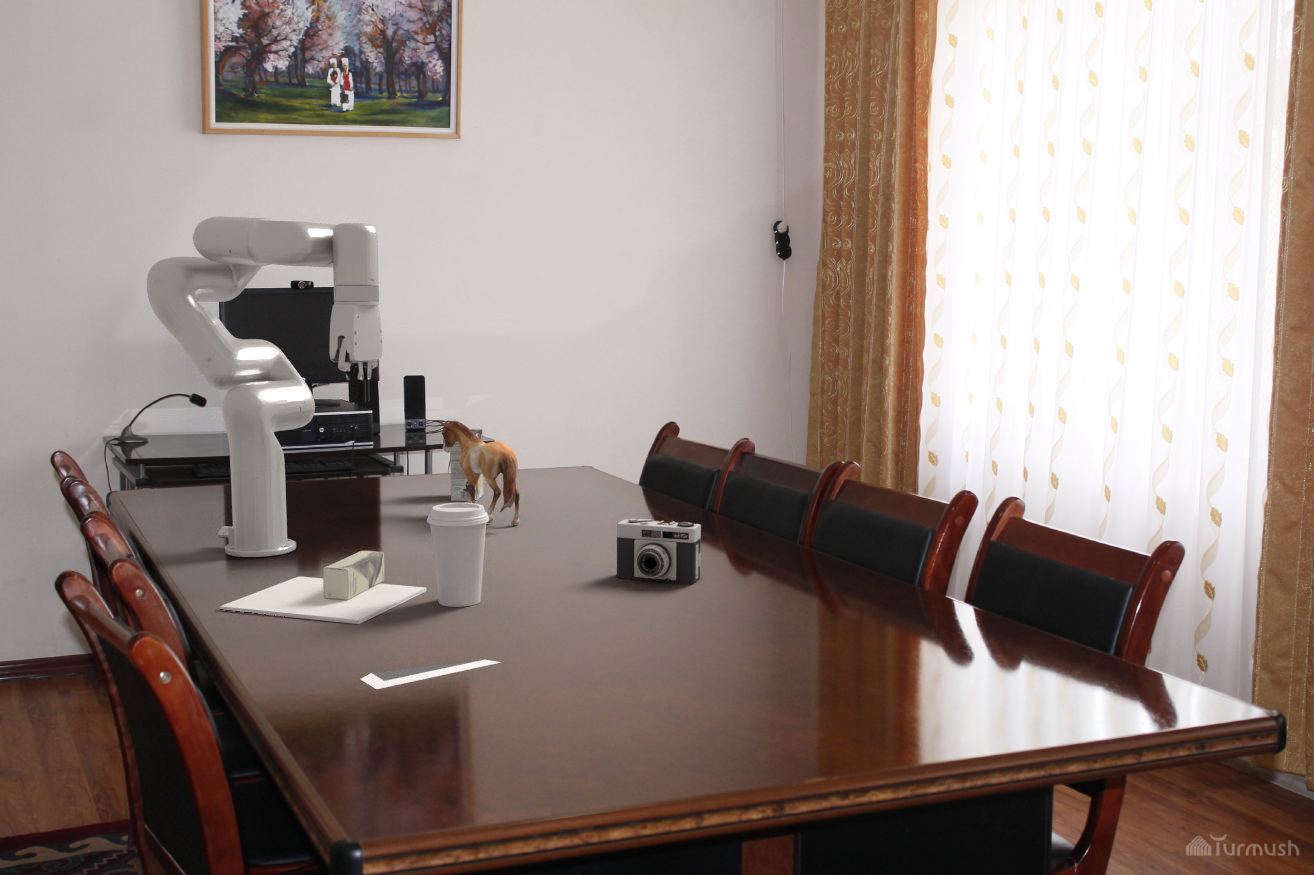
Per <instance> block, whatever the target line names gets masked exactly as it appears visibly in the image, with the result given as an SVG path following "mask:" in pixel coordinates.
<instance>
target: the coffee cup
mask: <svg viewBox="0 0 1314 875" xmlns="http://www.w3.org/2000/svg"><path fill="white" fill-rule="evenodd" d="M488 521H489V516H488V511H486V510H485V507H484V505H482V504H479V503H476V502H475V503H472V502H471V503H468V502H448V503H440V504H437V505H436V504H435V505H434V506H432V508H431V511H430V513H429V514H428V517H427V519H426V522H427V524H429V527H430V533H431V534H430V536H431V542H432V552H433V561H434V562H433V563H434V570H435V571H434V572H435V582H436V591H437V600H438V604H439V605H441V606H444V607H449V608H450V607H451V608H452V607H453V608H463V607H469V606H475V605H477V604H479V603H480V602H481V599H482V598H481V597H482V587H483V570H484V556H485V555H484V554H485V543H486V529H487V522H488Z"/></svg>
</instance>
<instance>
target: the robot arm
mask: <svg viewBox="0 0 1314 875" xmlns="http://www.w3.org/2000/svg"><path fill="white" fill-rule="evenodd" d="M378 236H379V235H378V231H377V228H376V227H375V226H374V225H372V224H371V223H368V224H367V223H359V222H358V223H357V222H347V223H346V222H345V223H343V222H342V223H338V224H332V223H331V224H330V223H322V222H312V221H311V222H308V221H295V220H294V221H293V220H271V219H269V218H266V217H249V216H248V217H245V216H244V217H243V216H224V215H223V216H222V215H221V216H219V215H218V216H212V217H207V218H205V219H203V220H202V221H200V222H199V223H198V224H197V225H196V227H195V229H194V230H193V234H192V242H193V245H194V247H195V250H196V251H197V252H198V253H199V254H200V255H201V257H200V256H172V257H166V258H164V259H160V260H158V261H156V262H155V263H154V264H153V265H152V266H151V268H150V269H149V270H148V274H147V276H146V293H147V298H148V302H149V305H150V306H151V309H152V311H153V313H154V315H155V317H156V318H157V319H158V321H159V322H160V323H161V324H162V325H163V326H164V327H165V329H166V330H167V331H168V333H170V334H171V335H172V336H173V337H174V338H175V340H176V341H177V342H178V343H179V344H180V346H181V347H182V349H183V350H184V351H185V354H187V356H188V357H189V359H190V360H191V362H192V363H193V364H194V366H195V368H197V370H198V371H199V372H200V374H201V375H202V377H203V378H204V380H205V381H206V382H207V383H208V384H209V385H210V386H211V387H212V388H214V389H215V390H218V391H226V393H225V395H224V397H223V400H222V406H221V408H222V409H221V411H222V418H223V422H224V426H225V430H226V434H227V441H228V447H229V460H230V461H229V462H230V463H229V465H230V484H231V486H230V487H231V488H230V490H231V505H232V506H231V507H232V508H231V513H232V514H231V515H232V526H226V525H223V526H221V527H220V529H219V531H218V532H217V537H218V538H221V539H227V540H228V544H226V545H225V546H224V553H225V554H226V555H228V556H232V557H239V558H262V557H263V558H264V557H270V556H271V557H272V556H278V555H284V554H288V553H291V552H293V551H294V550H296V548H297V542H296V541H295V540H292V539H290V538H288V525H287V523H288V519H287V498H286V494H287V493H286V488H287V487H286V468H285V464H286V463H285V455H284V450H283V448H282V446H281V443H280V442H279V440H278V439H277V437H276V435H275V432H280V431H289V430H296V429H299V428H302V427H304V426H306V425H307V424H309V423H310V422H311V421H312V419H313V417H314V416H315V410H316V402H315V398H314V395H313V393H312V391H311V388H310V387H309V386H308V384H307V382H306V381H305V380H304V378H302V376H301V375H300V374H299V372H298V371H297V369H296V368H295V366H294V365H293V364H292V363H291V361H290V360H289V359H288V357H287V356H286V355H285V354H284V353H283V351H282V350H281V349H280V348H279V347H278V346H276V345H275V344H274V343H272V342H270V341H268V340H266V339H261V338H260V339H258V338H254V339H253V338H249V339H247V338H246V339H245V338H244V339H242V338H239V337H238V338H237V337H235V336H233V335H232V334H231V333H230V331H229V330H228V329H227V328H226V326H225V325H224V324H223V322H222V321H221V319H219V318H218V316H216V314H214V313H213V312H211V311H210V310H208V309H207V308H205V307H203V306H202V305H201V304H199V303H204V302H205V303H206V302H207V303H213V302H214V303H224V302H229V301H231V300H233V299H235V298H236V297H238V296H239V295H240V294H241V293H242V292H243V291H244V290H245V288H246V287H247V286H248V285H249V284H250V282H251V281H252V280H253V279H254V277H255V276H256V275H257V274H258V272H259V271H260V270H261V269H262V268H263V267H265V266H266V267H267V266H269V265H275V266H287V267H289V266H290V267H291V266H292V267H309V268H310V267H314V268H332V269H333V270H332V271H333V272H332V273H333V274H332V276H333V302H334V304H332V308H331V313H330V314H331V315H330V322H329V323H330V324H329V358H330V361H332V362H333V363H338V364H337V368H338V370H340V371H343V372H345V378H346V380H347V382H348V387H347V388H348V402H349V403H350V404H367V403H371V402H370V401H371V397H370V394H371V393H370V390H371V389H370V387H371V386H370V380H371V378H372V371H373V369H375V368H377V367H378V364H379V363H378V362H379V360H380V359H381V358H382V356H383V334H382V333H383V332H382V320H381V312H380V309H379V308H380V307H379V305H380V288H379V287H380V286H379V283H380V282H379V278H380V277H379V245H378V242H379V240H378Z"/></svg>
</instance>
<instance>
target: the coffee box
mask: <svg viewBox="0 0 1314 875" xmlns="http://www.w3.org/2000/svg"><path fill="white" fill-rule="evenodd" d="M469 429H470V428H469ZM470 430H471V431H472V432H473V433H474V434H475V435H476V436H477V437H478V438H479V439H480V440H482V441H483V429H478V428H477V429H474V428H473V429H470ZM460 452H461V448H460V445H459V442H458V441H456V442H455V444H454V445H453V447H452V448H451V452H450V453H449V457H450V459H449V460H450V461H449V463H450V465H449V466H450V500H451V501H452V502H468V496H469V483H468V481H467V479H466V477H465V475H464V471H463V469H462V468H461V466H460V463H459V457H460ZM475 490H476V493H475V500H477V501H479V499H480V498H481V497H482V496H483V495H484V476H483V474H481V475H480V477H479V479H478V481H477V483H476V486H475Z"/></svg>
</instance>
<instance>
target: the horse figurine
mask: <svg viewBox="0 0 1314 875" xmlns="http://www.w3.org/2000/svg"><path fill="white" fill-rule="evenodd" d="M439 424H440V425H441V426H442V427H443V428H442V431H441V435H442V437H443V446H442V450H443V451H444V452H445V453H448V454H450V452H451V448H452V447H453V445H454V444H455V442H456V441H458V442H459V445H460V448H461V452H460V457H459V463H460V466H461V468H462V469H463V471H464V475H465V477H466V479H467V481H468V483H469V496H468V501H467V503H475V504H476V501H475V493H476V490H475V486H476V483H477V481H478V479H479V477H480V475H481V474H483V478H484V479H485V480H486V484H487V485H488V487H489V488H490V489H492V491H493V496H492V501H491V502H490V505H489V507H488V509H487V514H488V516H489V521H488V522H486V524H492V522H493V521H494V517H493V512H494V510H495V507H496V505H497V501H498V500H499V499H500V497H501V494H502V495H503V504H502V507H501V508H500V511H499V513H503V511H504V510H505V509H507V508H510V509H511V507H512V506H513V504H514V516H513V518H512V521H511V522H510V524H511V525H512V526H513V525H514V526H515V525H516V526H518V525H519V524H520V516H521V513H520V507H519V506H520V504H519V503H520V494H521V493H520V492H519V490H518V488H517V481H516V479H517V475H518V471H519V468H518V467H519V466H518V458H517V454H516V452H515V451H514V450H513V449H512V448H511V447H510V446H509V445H507V444H506V443H504V442H501V441H492V442H491V441H490V442H487V443H486V442H484V441H483V439H482V440H480V439H479V438H478V437H477V436H476V435H475V434H474V433H473V432H472V431H471V430H470V428H469V427H468V426H466V425H465V424H464V423H462V422H460V421H458V420H451V421H448V422H447V421H444V422H443V421H439ZM500 474H502V483H503V484H502V486H503V487H502V490H501V488H500V487H499V486H498V483H497V477H498V476H499V475H500Z"/></svg>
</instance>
